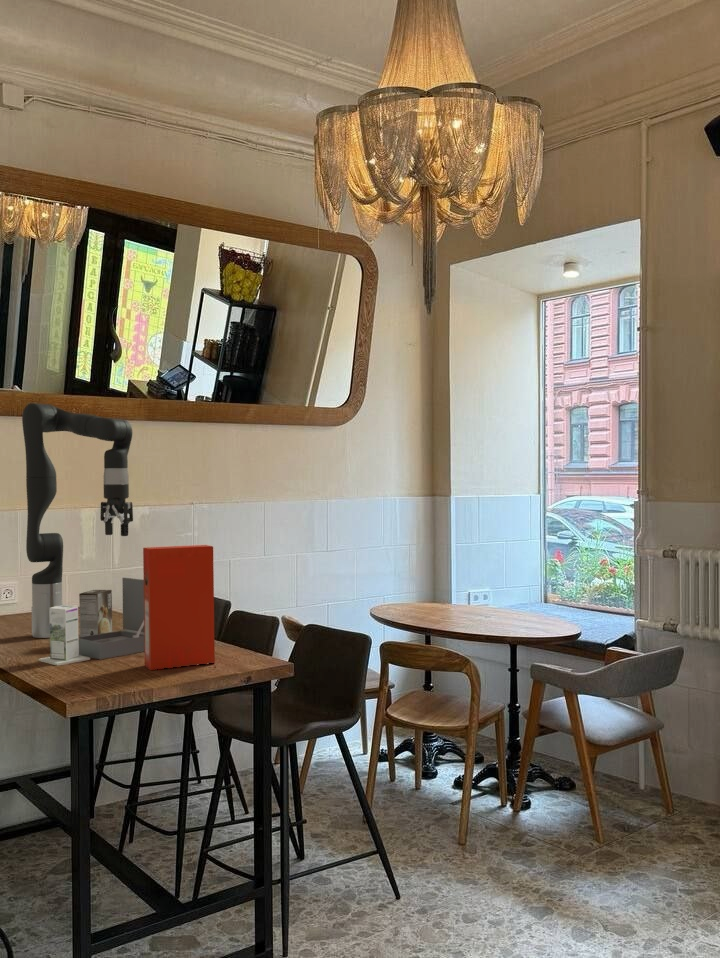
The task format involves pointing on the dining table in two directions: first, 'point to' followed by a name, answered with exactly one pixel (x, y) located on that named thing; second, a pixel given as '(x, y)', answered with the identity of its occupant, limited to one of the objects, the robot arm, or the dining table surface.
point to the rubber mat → (62, 662)
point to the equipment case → (132, 627)
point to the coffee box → (95, 612)
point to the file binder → (178, 606)
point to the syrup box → (64, 632)
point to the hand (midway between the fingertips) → (116, 535)
